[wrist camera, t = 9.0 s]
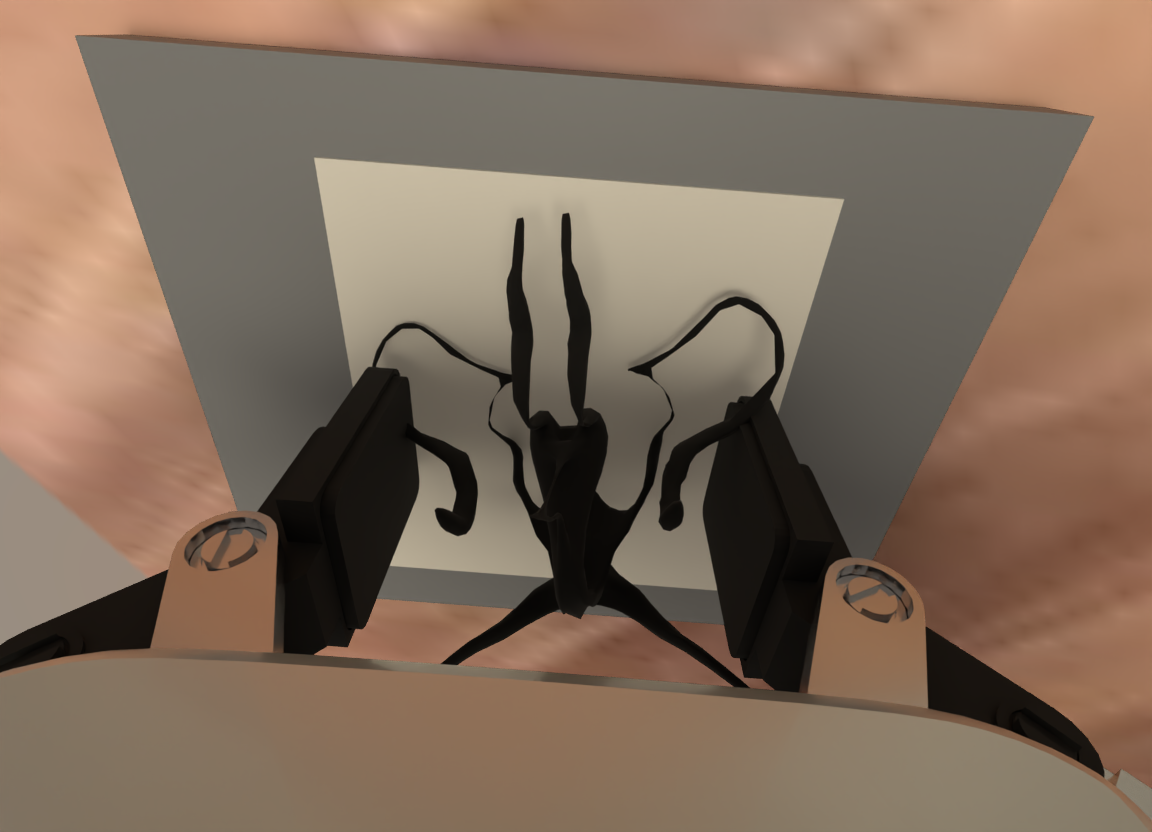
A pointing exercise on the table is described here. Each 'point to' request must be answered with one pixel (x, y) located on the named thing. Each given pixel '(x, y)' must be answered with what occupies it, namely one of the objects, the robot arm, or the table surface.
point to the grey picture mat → (601, 258)
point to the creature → (579, 470)
